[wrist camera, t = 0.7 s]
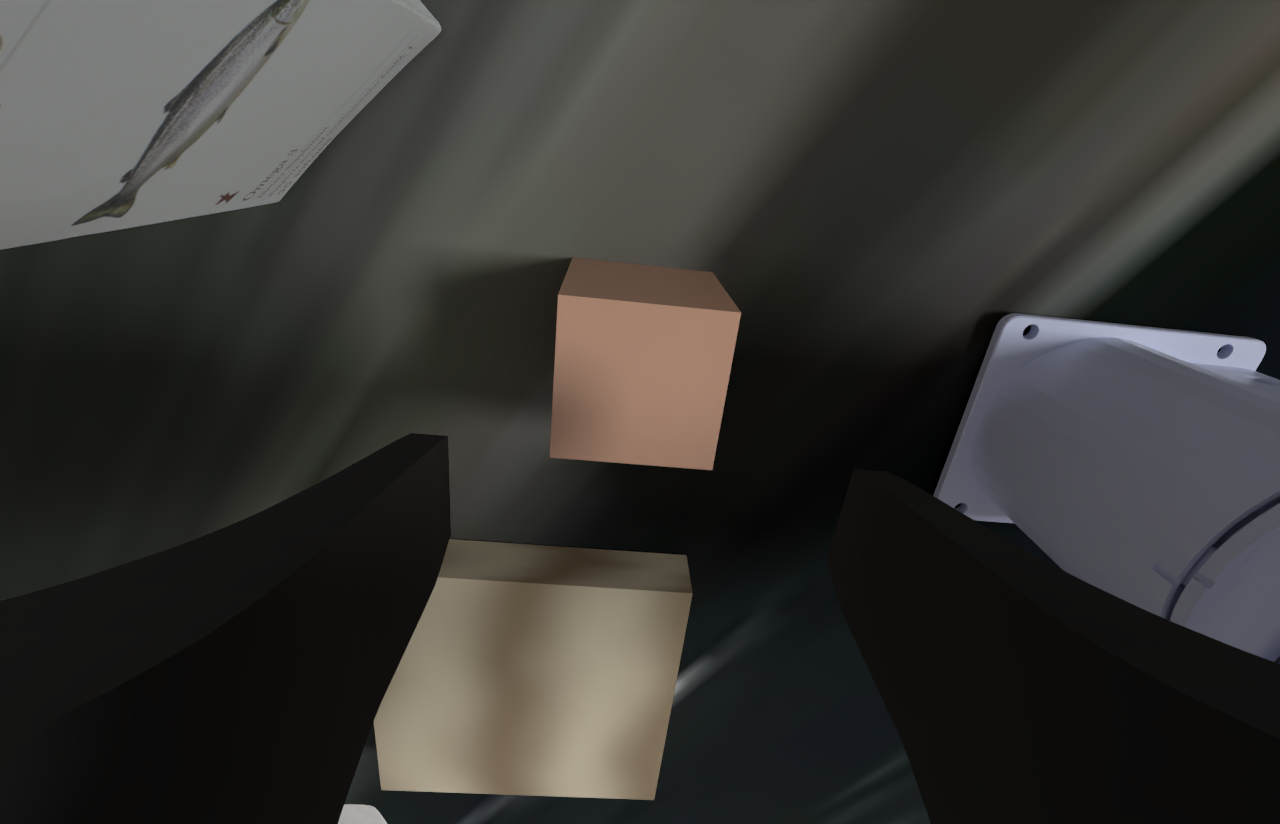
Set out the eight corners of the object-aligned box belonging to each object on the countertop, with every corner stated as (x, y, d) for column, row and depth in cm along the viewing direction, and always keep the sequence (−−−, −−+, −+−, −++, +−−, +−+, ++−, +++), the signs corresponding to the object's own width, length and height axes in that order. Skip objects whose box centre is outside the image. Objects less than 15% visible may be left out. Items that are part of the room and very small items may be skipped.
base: (686, 555, 24) (692, 593, 22) (651, 753, 29) (654, 799, 27) (379, 534, 23) (356, 572, 21) (398, 743, 28) (381, 789, 26)
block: (711, 271, 19) (741, 312, 15) (691, 399, 21) (712, 470, 16) (572, 257, 19) (557, 294, 14) (564, 387, 21) (549, 457, 16)
